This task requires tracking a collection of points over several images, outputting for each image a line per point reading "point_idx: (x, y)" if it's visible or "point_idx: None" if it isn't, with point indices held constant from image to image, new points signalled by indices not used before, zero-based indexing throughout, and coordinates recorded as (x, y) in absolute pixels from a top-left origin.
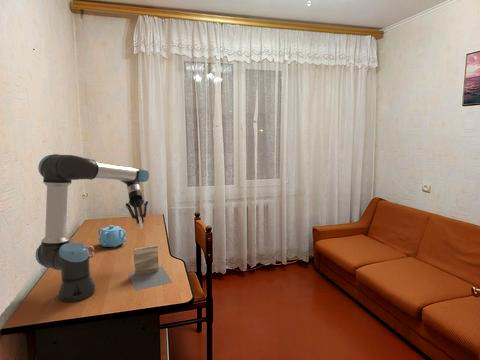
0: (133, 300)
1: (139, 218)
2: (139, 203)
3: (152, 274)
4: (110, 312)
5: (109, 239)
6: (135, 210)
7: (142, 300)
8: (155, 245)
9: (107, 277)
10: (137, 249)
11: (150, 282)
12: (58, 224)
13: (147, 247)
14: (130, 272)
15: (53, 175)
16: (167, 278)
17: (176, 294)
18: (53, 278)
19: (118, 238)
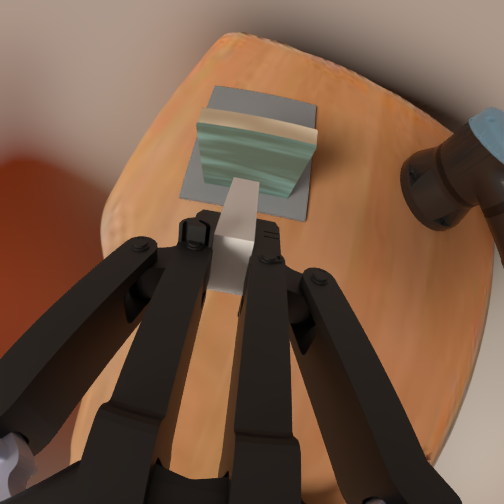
0: (326, 83)
1: (244, 226)
2: (114, 492)
3: None
4: (370, 81)
5: None
6: (280, 351)
7: (308, 72)
8: (208, 118)
9: (367, 239)
10: (303, 126)
11: (266, 115)
12: None
13: (253, 116)
14: (298, 217)
15: None
16: (213, 108)
17: (235, 52)
18: (466, 327)
19: None
